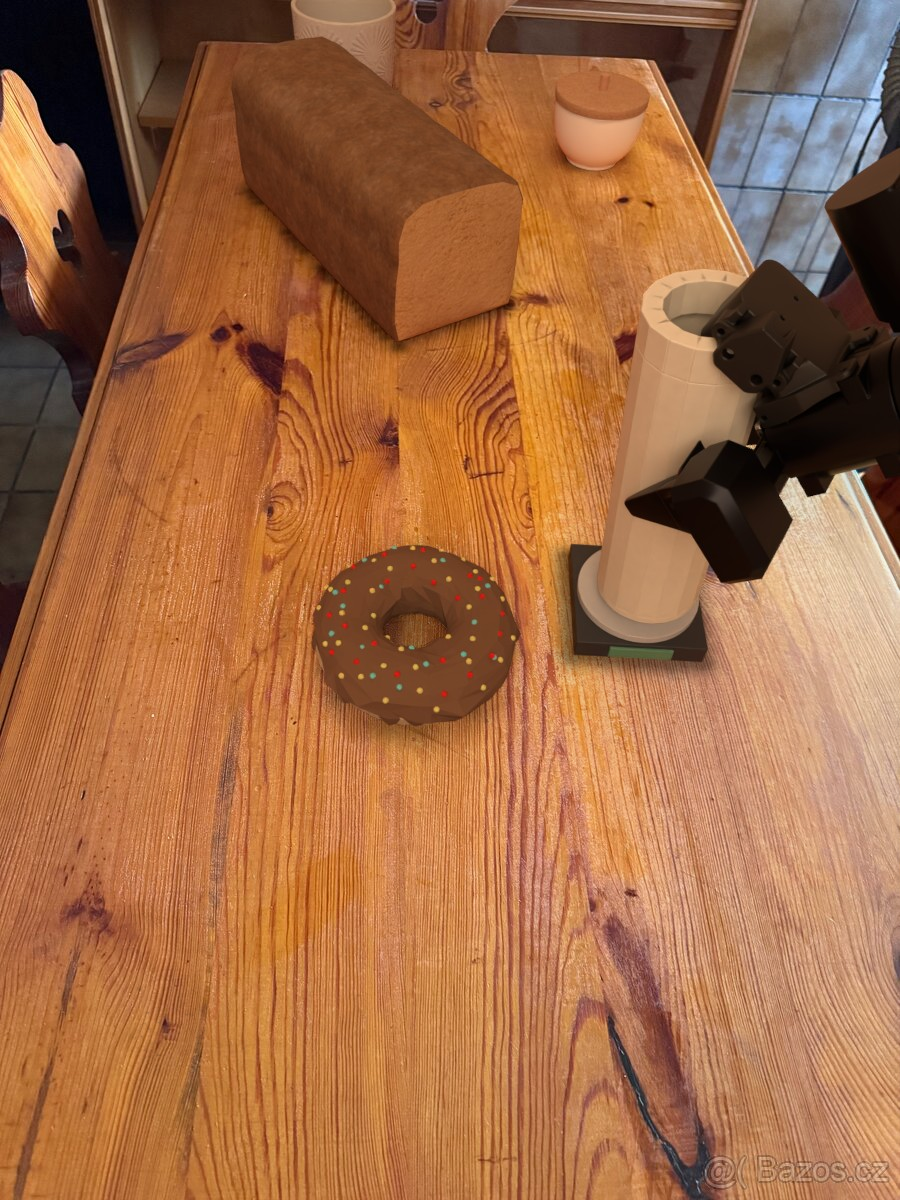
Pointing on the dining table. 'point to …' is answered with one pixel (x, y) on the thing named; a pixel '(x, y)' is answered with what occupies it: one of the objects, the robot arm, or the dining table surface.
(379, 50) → the planter
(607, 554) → the canister
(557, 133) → the trinket box
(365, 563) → the donut
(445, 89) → the dining table surface
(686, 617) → the scale
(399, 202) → the bread
